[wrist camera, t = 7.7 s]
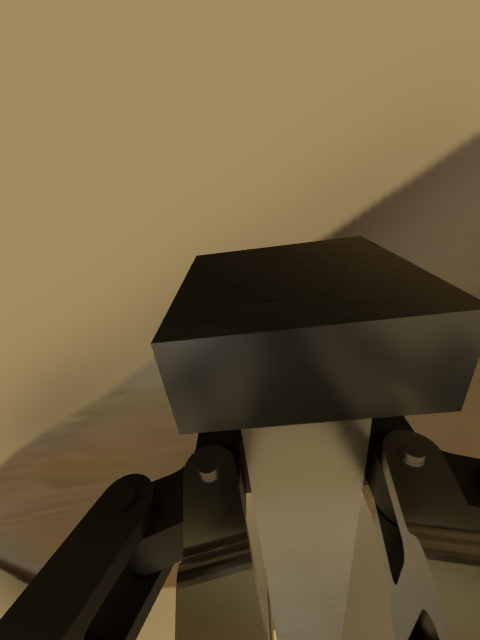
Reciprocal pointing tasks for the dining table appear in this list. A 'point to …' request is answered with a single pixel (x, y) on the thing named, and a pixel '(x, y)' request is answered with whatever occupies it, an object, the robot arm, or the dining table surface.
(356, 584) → the bracket
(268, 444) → the shaft
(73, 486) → the dining table surface
